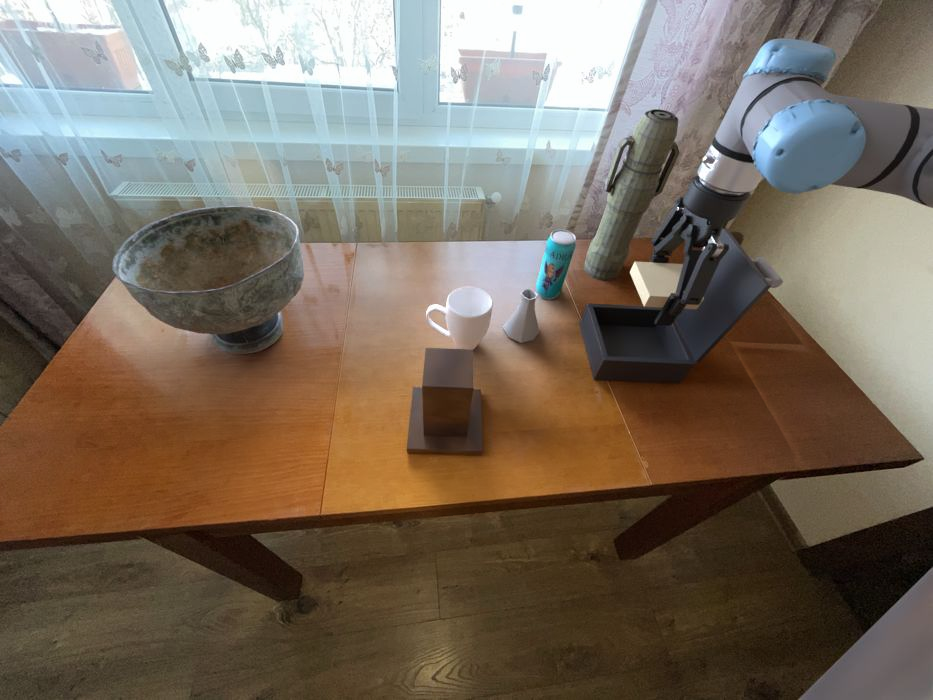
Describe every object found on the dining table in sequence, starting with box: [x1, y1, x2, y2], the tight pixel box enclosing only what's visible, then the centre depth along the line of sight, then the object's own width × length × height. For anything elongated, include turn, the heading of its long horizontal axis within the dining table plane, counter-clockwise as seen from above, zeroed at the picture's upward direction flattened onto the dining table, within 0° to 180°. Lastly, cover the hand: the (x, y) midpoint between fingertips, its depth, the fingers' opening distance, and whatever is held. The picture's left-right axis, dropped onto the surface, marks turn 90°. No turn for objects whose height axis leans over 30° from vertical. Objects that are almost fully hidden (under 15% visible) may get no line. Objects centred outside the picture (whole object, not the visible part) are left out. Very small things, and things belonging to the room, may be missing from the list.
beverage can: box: [535, 229, 577, 301], centre depth 86 cm, size 6×6×15 cm
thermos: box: [583, 108, 680, 281], centre depth 86 cm, size 9×12×35 cm
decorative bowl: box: [111, 205, 305, 355], centre depth 72 cm, size 26×26×20 cm
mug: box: [425, 286, 494, 351], centre depth 75 cm, size 12×8×11 cm
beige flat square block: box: [629, 261, 704, 309], centre depth 68 cm, size 9×9×2 cm
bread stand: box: [406, 347, 484, 456], centre depth 62 cm, size 12×12×15 cm
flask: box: [502, 287, 540, 344], centre depth 80 cm, size 7×7×10 cm
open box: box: [578, 302, 697, 384], centre depth 79 cm, size 17×15×6 cm
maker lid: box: [675, 228, 784, 364], centre depth 70 cm, size 18×15×7 cm
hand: (653, 304), depth 72 cm, fingers closed on beige flat square block, 9 cm apart
